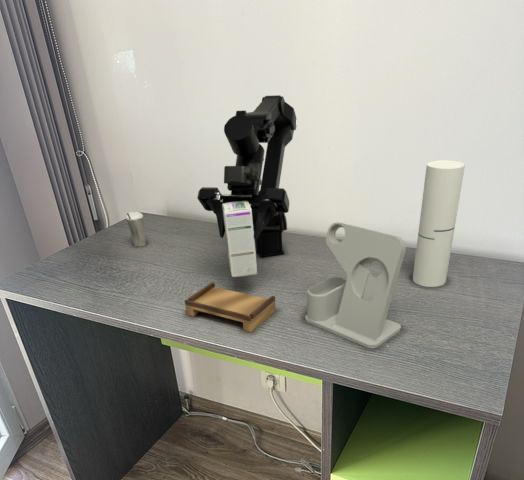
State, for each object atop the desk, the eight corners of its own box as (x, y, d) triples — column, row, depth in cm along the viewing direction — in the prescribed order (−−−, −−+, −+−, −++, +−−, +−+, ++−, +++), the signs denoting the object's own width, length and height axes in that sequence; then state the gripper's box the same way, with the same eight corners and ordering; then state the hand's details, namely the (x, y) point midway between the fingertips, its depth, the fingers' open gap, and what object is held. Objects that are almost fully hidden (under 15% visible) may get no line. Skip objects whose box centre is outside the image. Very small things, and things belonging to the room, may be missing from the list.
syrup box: (258, 274, 106) (253, 207, 98) (230, 277, 105) (223, 211, 97) (254, 264, 111) (249, 199, 103) (228, 267, 110) (221, 202, 102)
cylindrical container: (447, 287, 108) (467, 168, 94) (413, 286, 109) (428, 168, 95) (444, 273, 113) (462, 160, 100) (411, 272, 115) (425, 160, 101)
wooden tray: (275, 311, 103) (275, 296, 101) (251, 332, 96) (249, 317, 94) (213, 296, 110) (212, 282, 108) (186, 315, 103) (184, 300, 102)
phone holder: (300, 319, 99) (299, 233, 90) (332, 301, 105) (334, 218, 95) (373, 350, 89) (380, 255, 79) (404, 328, 94) (414, 237, 85)
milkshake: (127, 248, 138) (119, 212, 133) (136, 241, 142) (130, 206, 137) (141, 249, 137) (134, 213, 131) (151, 242, 141) (144, 207, 136)
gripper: (194, 147, 100) (181, 218, 97) (284, 146, 95) (274, 221, 93) (211, 176, 110) (200, 242, 108) (293, 177, 106) (284, 245, 103)
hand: (238, 237), depth 103 cm, fingers closed on syrup box, 7 cm apart
